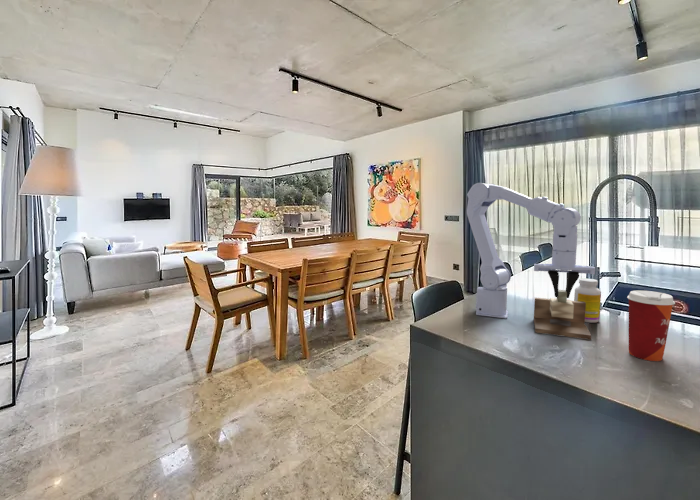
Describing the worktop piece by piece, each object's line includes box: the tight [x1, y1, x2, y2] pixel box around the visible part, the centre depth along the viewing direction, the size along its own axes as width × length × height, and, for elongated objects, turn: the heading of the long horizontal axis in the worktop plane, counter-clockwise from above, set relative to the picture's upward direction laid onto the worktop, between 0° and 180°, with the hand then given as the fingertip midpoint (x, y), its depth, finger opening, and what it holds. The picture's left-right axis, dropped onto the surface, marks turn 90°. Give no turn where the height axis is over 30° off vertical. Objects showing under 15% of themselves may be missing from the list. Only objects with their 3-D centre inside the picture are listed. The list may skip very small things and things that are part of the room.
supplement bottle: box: [573, 277, 602, 324], centre depth 101 cm, size 7×7×13 cm
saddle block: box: [549, 289, 574, 319], centre depth 94 cm, size 5×8×7 cm, turn 153°
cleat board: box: [533, 297, 592, 340], centre depth 94 cm, size 13×12×7 cm
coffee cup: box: [626, 290, 676, 362], centre depth 76 cm, size 8×8×15 cm
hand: (561, 296), depth 94 cm, fingers closed on saddle block
